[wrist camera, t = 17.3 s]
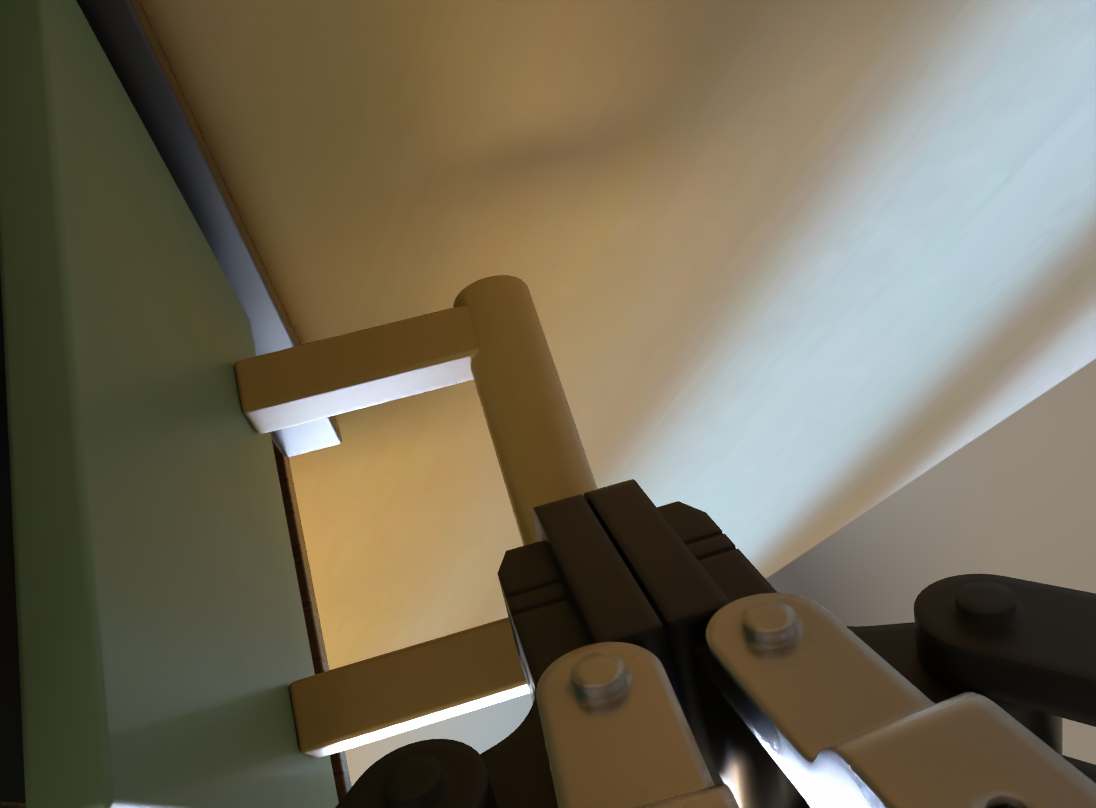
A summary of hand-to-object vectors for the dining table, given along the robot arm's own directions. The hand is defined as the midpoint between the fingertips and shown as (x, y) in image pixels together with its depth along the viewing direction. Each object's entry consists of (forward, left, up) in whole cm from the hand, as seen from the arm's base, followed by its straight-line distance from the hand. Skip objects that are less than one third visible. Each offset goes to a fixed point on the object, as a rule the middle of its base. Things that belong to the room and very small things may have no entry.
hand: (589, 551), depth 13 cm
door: (-2, -1, -7) cm, 8 cm away
